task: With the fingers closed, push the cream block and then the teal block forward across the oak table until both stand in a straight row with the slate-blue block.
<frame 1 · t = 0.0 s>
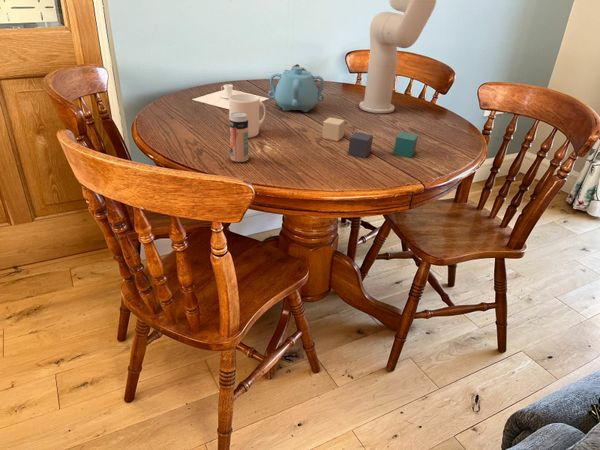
cream block: (332, 137, 138), on the table
decorative pot: (295, 107, 162), on the table
ceramic sculpture: (297, 86, 188), on the table
teal block: (404, 152, 130), on the table
mug: (249, 133, 138), on the table
teacup and saucer: (231, 99, 167), on the table
supplement bottle: (239, 160, 120), on the table
slate block: (359, 153, 128), on the table
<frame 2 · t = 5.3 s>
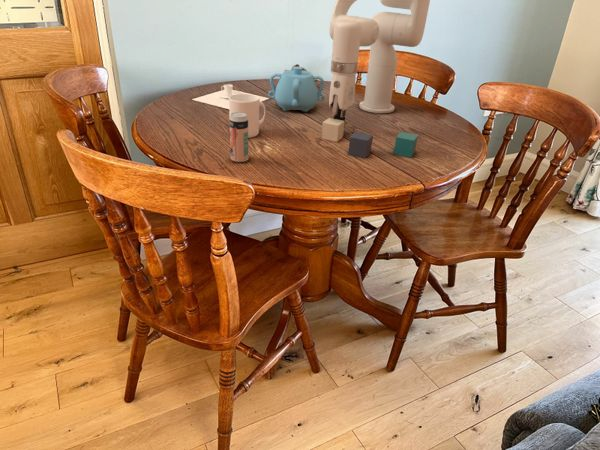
hand: (338, 129, 141), 1 cm above the table, tool pointing down, fingers closed
cream block: (332, 137, 138), on the table, touching gripper
everything else where it was.
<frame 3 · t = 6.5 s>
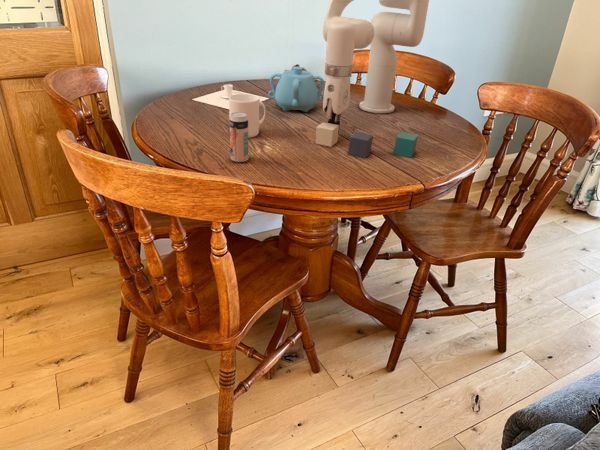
hand: (332, 133, 137), 1 cm above the table, tool pointing down, fingers closed
cream block: (326, 142, 134), on the table, touching gripper
everything else where it was.
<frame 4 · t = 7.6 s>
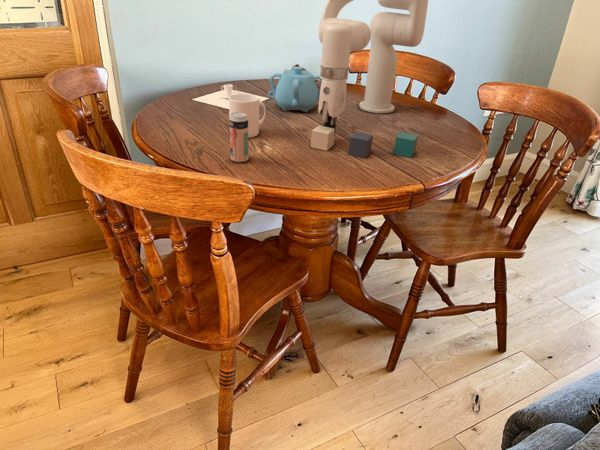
hand: (328, 136, 135), 1 cm above the table, tool pointing down, fingers closed
cream block: (322, 146, 132), on the table, touching gripper
everything else where it was.
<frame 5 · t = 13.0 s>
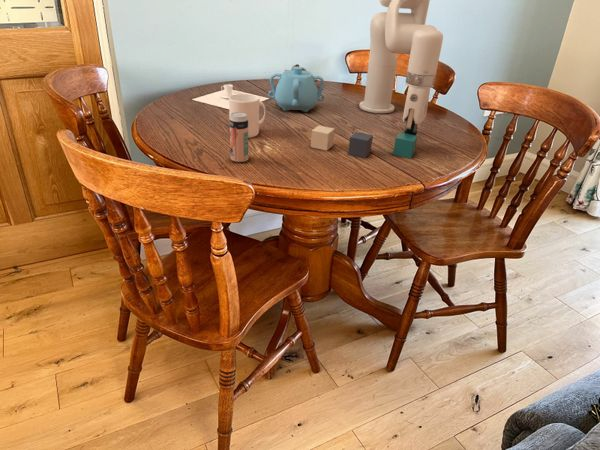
hand: (408, 144, 133), 1 cm above the table, tool pointing down, fingers closed
cream block: (322, 146, 131), on the table
teal block: (403, 153, 130), on the table, touching gripper
everything else where it was.
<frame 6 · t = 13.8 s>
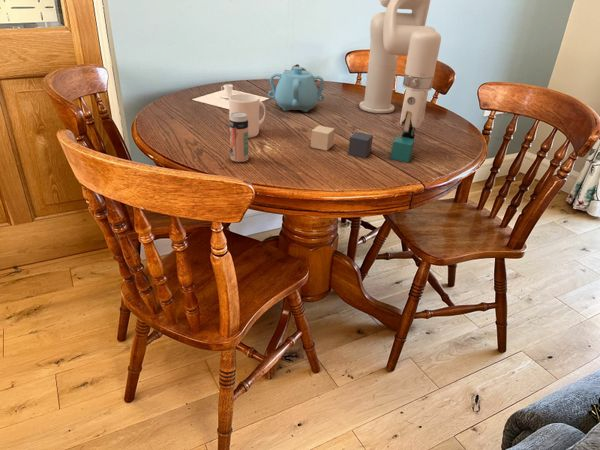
hand: (406, 147, 130), 1 cm above the table, tool pointing down, fingers closed
teal block: (401, 157, 127), on the table, touching gripper
everything else where it was.
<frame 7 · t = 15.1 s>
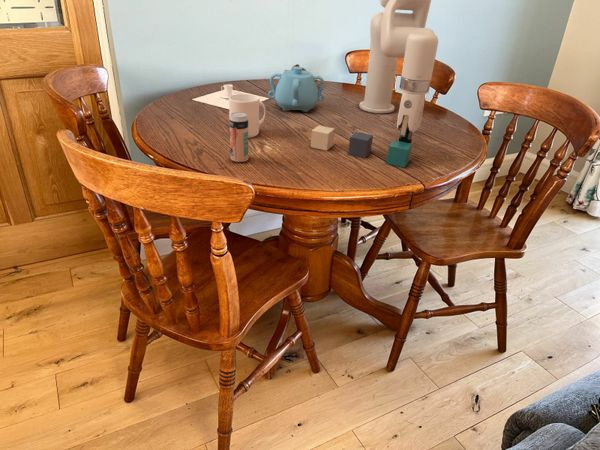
hand: (403, 151, 127), 1 cm above the table, tool pointing down, fingers closed
teal block: (397, 162, 124), on the table, touching gripper
everything else where it was.
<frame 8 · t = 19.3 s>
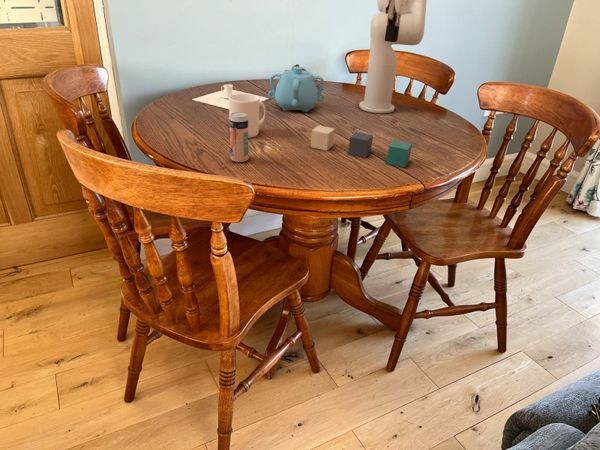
hand: (390, 41, 129), 27 cm above the table, tool pointing down, fingers closed
teal block: (397, 162, 124), on the table
everything else where it was.
at the end: cream block 0.7 cm from the target spot on the table beside the slate block, on the table; teal block 0.7 cm from the target spot on the table beside the slate block, on the table; slate block moved 0.0 cm from its start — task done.
